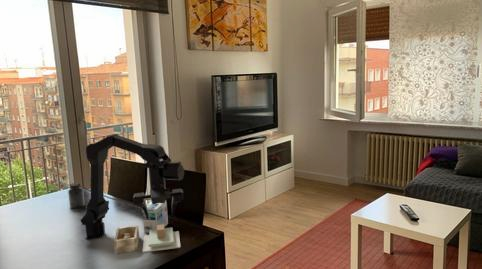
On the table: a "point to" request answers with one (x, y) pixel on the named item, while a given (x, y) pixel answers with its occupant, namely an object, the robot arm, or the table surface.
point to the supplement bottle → (76, 196)
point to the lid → (161, 236)
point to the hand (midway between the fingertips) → (160, 217)
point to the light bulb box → (155, 216)
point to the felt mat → (170, 246)
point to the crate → (126, 239)
